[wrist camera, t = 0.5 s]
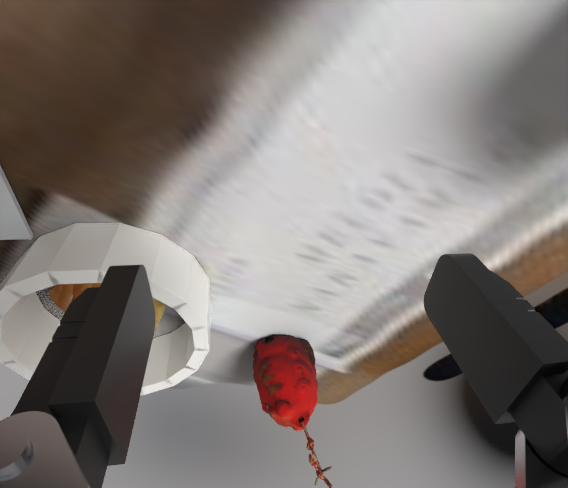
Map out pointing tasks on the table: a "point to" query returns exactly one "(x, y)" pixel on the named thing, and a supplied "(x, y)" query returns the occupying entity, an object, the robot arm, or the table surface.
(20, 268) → the bowl
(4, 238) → the mat
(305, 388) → the red clay folk toy
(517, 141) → the table surface
